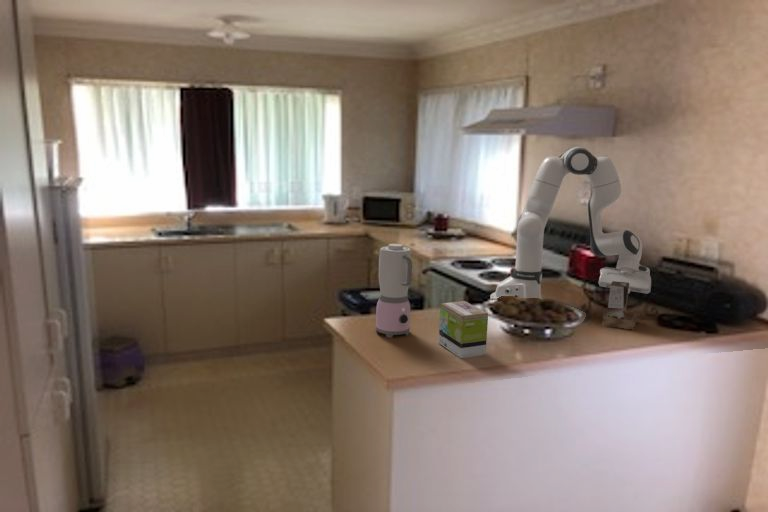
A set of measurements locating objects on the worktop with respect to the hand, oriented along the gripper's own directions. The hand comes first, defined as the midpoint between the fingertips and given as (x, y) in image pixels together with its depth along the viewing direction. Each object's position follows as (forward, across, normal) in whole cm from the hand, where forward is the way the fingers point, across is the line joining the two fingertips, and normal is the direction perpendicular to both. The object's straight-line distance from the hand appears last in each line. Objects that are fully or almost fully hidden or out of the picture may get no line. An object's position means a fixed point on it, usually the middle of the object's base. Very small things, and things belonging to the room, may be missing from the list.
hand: (621, 297), depth 243 cm
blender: (+57, -69, -43) cm, 99 cm away
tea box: (+59, -43, -46) cm, 86 cm away
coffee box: (+15, 0, -4) cm, 16 cm away
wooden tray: (+15, +1, -4) cm, 15 cm away
